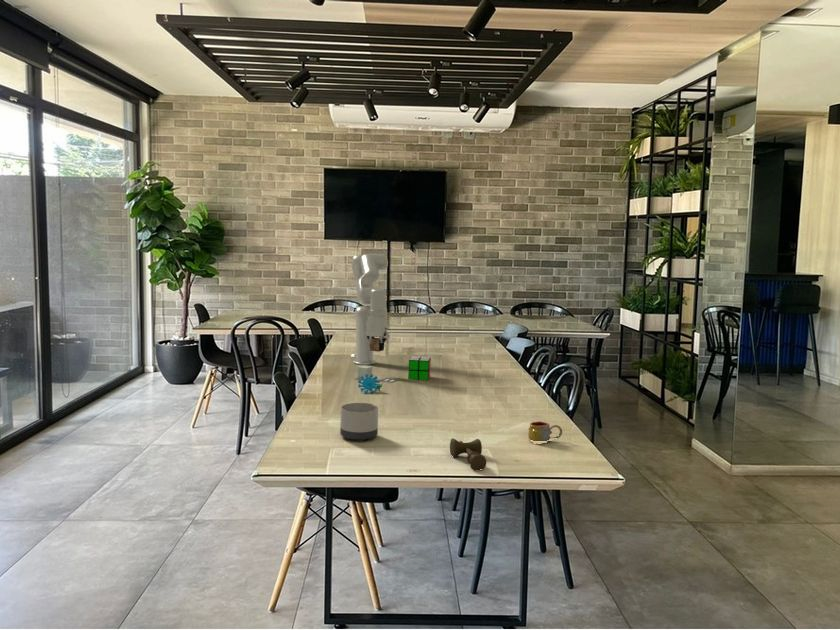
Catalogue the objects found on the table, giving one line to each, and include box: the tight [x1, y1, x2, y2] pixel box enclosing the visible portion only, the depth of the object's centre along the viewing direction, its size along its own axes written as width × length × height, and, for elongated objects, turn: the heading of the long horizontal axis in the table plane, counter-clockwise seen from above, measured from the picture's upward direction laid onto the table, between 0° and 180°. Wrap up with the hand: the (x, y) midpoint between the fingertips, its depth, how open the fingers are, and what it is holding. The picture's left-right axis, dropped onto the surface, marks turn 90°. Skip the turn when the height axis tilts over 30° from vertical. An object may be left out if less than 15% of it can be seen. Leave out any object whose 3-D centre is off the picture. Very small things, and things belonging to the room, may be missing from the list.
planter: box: [339, 402, 379, 441], centre depth 219 cm, size 13×13×10 cm
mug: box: [527, 421, 563, 441], centre depth 221 cm, size 12×7×7 cm, turn 96°
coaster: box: [379, 377, 401, 384], centre depth 309 cm, size 8×8×1 cm
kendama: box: [449, 438, 487, 471], centre depth 200 cm, size 6×10×20 cm
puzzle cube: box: [407, 356, 432, 381], centre depth 317 cm, size 10×10×10 cm
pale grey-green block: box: [357, 365, 373, 380], centre depth 310 cm, size 5×5×6 cm
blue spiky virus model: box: [357, 373, 383, 394], centre depth 287 cm, size 11×6×10 cm
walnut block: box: [370, 337, 385, 352], centre depth 318 cm, size 5×5×6 cm
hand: (376, 349), depth 319 cm, fingers closed on walnut block, 5 cm apart
